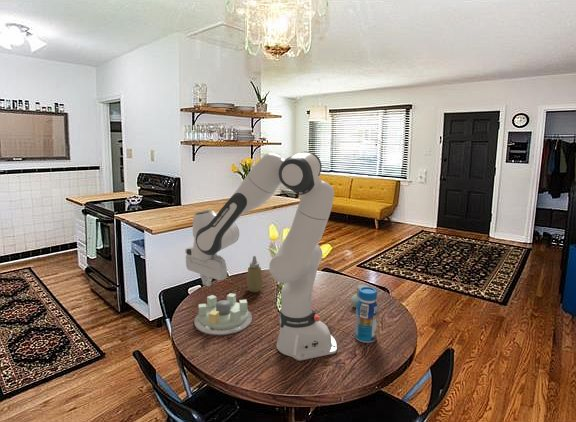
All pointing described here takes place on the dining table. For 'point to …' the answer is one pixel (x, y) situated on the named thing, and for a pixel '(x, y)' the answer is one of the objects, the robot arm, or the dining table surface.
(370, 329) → the blue wipes canister
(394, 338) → the dining table surface
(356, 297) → the air freshener
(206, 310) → the green toy gear
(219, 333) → the mount plate
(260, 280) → the squeeze bottle
